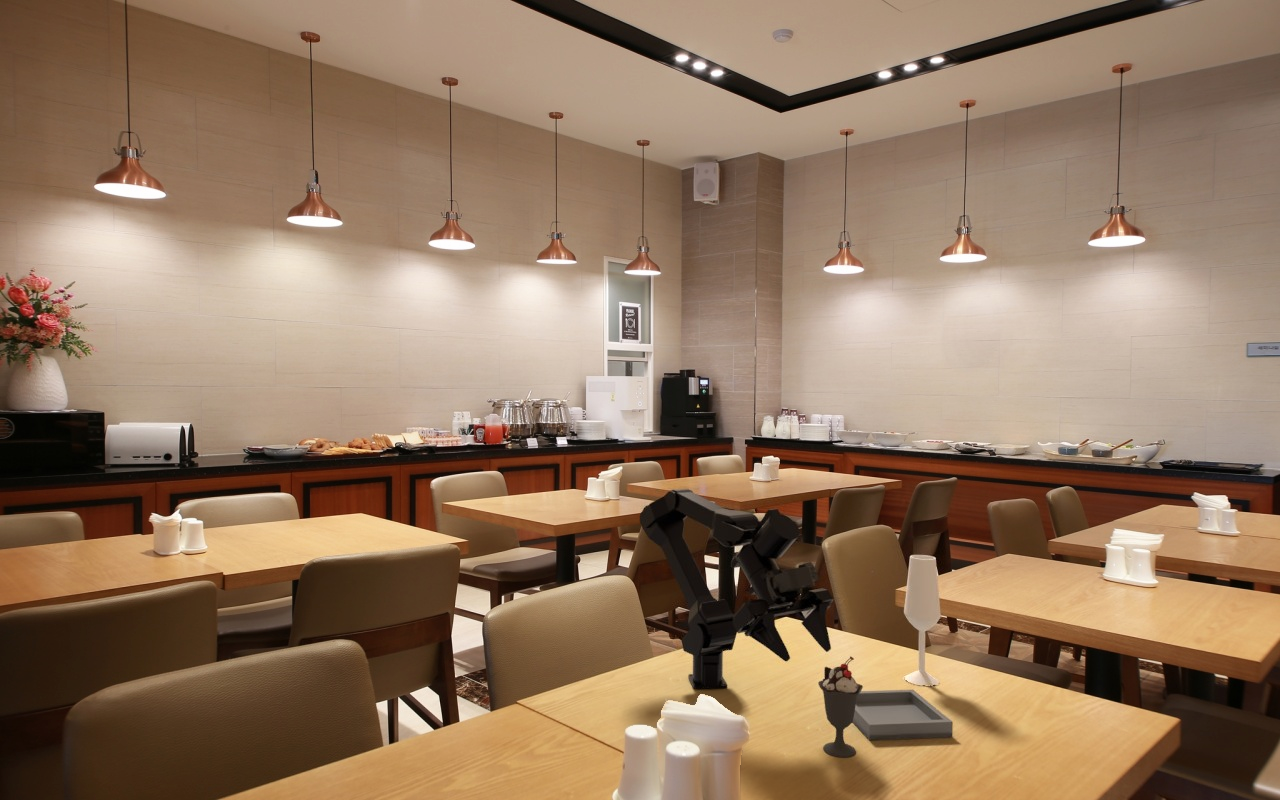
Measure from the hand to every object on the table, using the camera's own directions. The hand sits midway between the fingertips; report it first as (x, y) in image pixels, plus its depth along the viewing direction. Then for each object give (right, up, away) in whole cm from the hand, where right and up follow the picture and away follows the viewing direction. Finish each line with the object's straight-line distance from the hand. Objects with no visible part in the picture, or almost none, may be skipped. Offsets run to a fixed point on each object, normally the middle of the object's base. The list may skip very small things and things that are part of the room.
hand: (808, 655), depth 126 cm
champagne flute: (+27, -13, +25) cm, 39 cm away
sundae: (+4, -13, -6) cm, 15 cm away
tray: (+15, -13, +5) cm, 21 cm away
